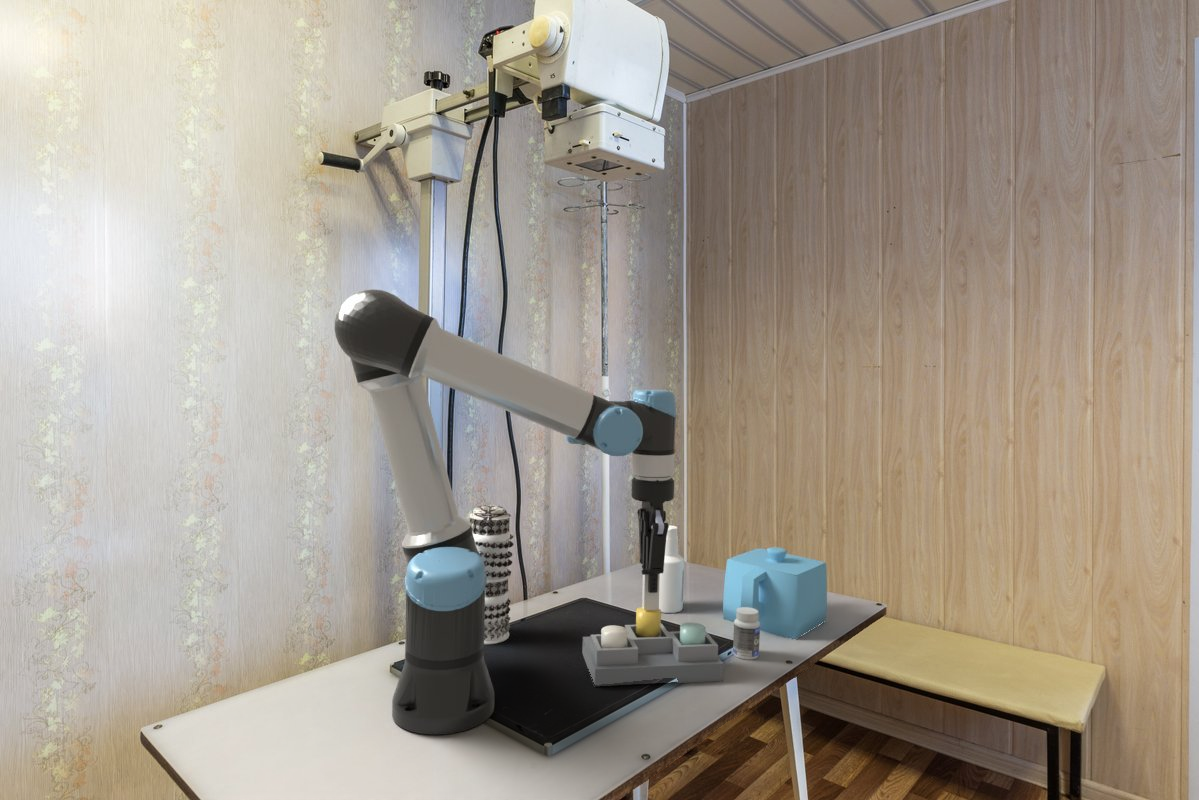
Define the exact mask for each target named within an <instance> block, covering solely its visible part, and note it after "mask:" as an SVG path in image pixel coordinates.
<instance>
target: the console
mask: <svg viewBox="0 0 1199 800" xmlns="http://www.w3.org/2000/svg"><path fill="white" fill-rule="evenodd" d="M624 628H626V629H627V647H625V648H601V634H600V633H599V634H598V633H597V634H590V636H582V647H581V648H582V651H581V652H582V656H583V659H584V662H585V665H586V667H587V670H588V669H589V670H588V672H590V673H589V675H590V674H591V675H590V678H591V677H592V678H591V680H592V679H593V681H592V683H593V682H594V684H595V685H601V684H614V683H623V682H633V681H642V680H653V679H662V678H677V680H678V682H677V683H676V684H681V683H682V684H683V683H685V684H686V683H705V682H706V683H707V682H723V681H724V664H725V663H724V661H722V659H720V657H719V645H718V643H717V642H716V641H715V640H714V638H712V637H711V635H710V634H709V633H708V631H707V630H705V644H698V645H681V643H680V630H679V631H668V630H667V628H666V627H665V626H664V625H663V623H661V631H660V635H659V636H656V637H643V636H640V635H638V634H636V624H625V625H624ZM594 684H593V685H594Z"/></svg>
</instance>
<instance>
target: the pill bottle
mask: <svg viewBox="0 0 1199 800" xmlns="http://www.w3.org/2000/svg"><path fill="white" fill-rule="evenodd" d="M736 617H737V619H735V621H734V622H733V643H732V648H733V649H732V653H733V655H734V657H736V658H738V659H742V660H755V659H758V657H759V655H760V637H761V636H760V635H761V634H760V633H761V630H760V623H759V621H758V618H759V614H758V610H756V609H754V608H749V607H741V608H738V609H737V612H736Z"/></svg>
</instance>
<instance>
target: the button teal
mask: <svg viewBox="0 0 1199 800" xmlns="http://www.w3.org/2000/svg"><path fill="white" fill-rule="evenodd" d="M705 630H706V626H705V625H703V624H702V623H698V622H684V623H681V624H680V625H679V631H680V643H681V645H698V644H705ZM706 631H707V630H706Z"/></svg>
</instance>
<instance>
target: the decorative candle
mask: <svg viewBox="0 0 1199 800" xmlns="http://www.w3.org/2000/svg"><path fill="white" fill-rule="evenodd" d="M467 516H468V518H469V523H470V526H471V529H472V533H473V537H474V540H475V544H476V548H477V550H478V552H479V553H480V556H481V558H482V559H483V561H484V564H485V571H486V576H487V581H486V586H485V618H484V645H494V644H498V643H502V642H504V641H506V640H507V639H509V637H510V632H509V631H510V628H511V625H510V621H511V617H510V616H509V614H510V611H511V608H510V604H511V601H512V600H511V599H510V590H509V579H510V577H511V575H512V571H511V570H510V569H508V568H509V567H510V566H511V565H512V564H513V560H510V558H511V557H513V552H511V551H510V550H509V549H511V548H512V547H513V546H514V542H513V541H512V539H513V538H514V535H512V534H511V530H510V517H512V515H511V513H508V512H507V510H506V509H505V507H503V506H501V505H495V504H485V505H479V506H476V507H474V509H473V511H472V512H471V513H469V514H468V515H467Z"/></svg>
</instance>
